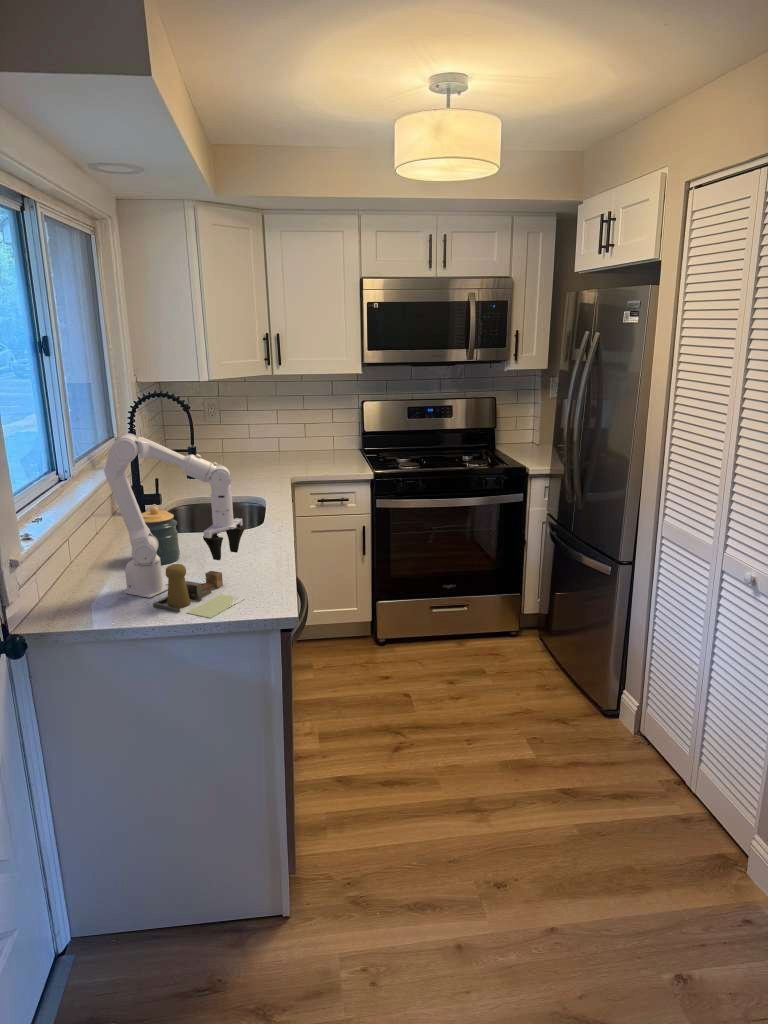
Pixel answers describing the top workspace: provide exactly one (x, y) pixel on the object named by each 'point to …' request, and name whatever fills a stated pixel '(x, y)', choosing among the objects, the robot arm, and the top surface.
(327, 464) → the top surface
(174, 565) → the brown pepper mill
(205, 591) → the socket
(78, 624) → the top surface
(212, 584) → the key
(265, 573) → the top surface
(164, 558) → the canister
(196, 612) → the mat
